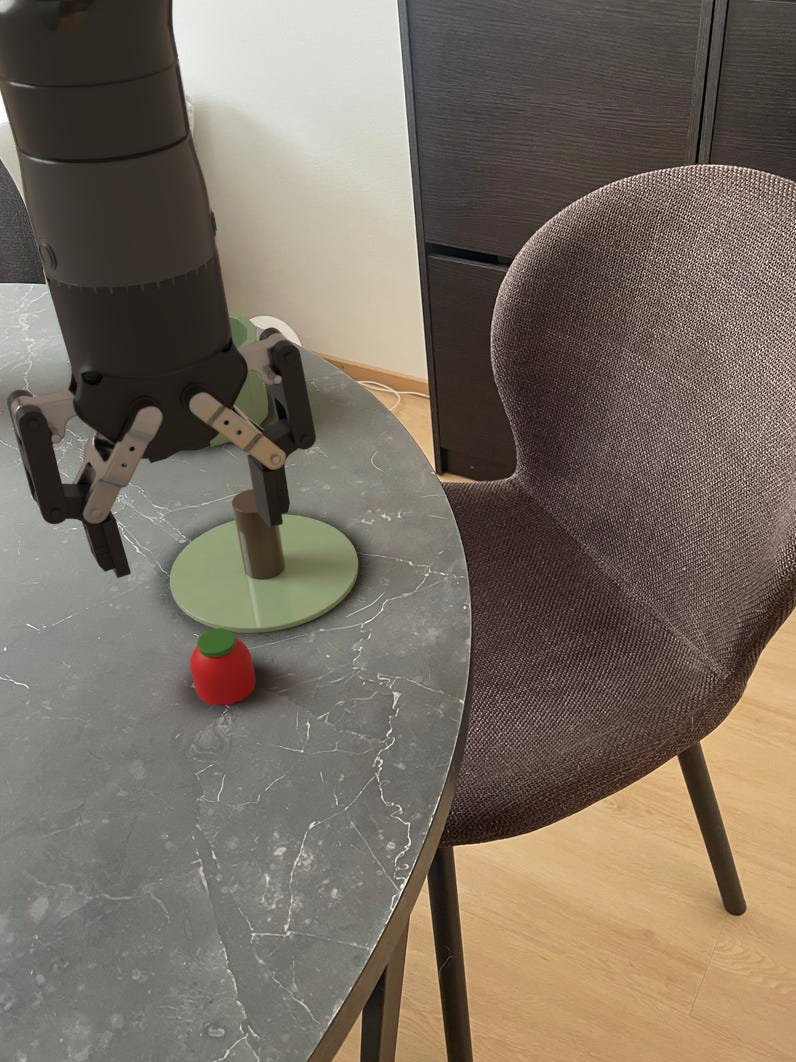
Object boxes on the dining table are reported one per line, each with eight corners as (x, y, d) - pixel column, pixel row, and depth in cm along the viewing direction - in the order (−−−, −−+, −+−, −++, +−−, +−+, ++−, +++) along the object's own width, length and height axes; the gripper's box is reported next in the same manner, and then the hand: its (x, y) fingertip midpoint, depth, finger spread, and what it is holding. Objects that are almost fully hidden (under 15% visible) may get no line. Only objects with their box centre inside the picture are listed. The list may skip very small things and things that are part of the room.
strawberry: (187, 707, 63) (174, 655, 60) (213, 668, 66) (201, 616, 63) (243, 718, 62) (231, 665, 60) (266, 677, 65) (256, 625, 62)
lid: (139, 623, 69) (116, 542, 64) (220, 515, 78) (205, 438, 74) (321, 655, 67) (310, 573, 62) (383, 540, 76) (377, 462, 71)
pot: (104, 446, 85) (81, 361, 80) (168, 380, 94) (151, 300, 89) (235, 464, 83) (220, 379, 78) (289, 396, 92) (278, 315, 87)
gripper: (249, 192, 51) (290, 474, 62) (-58, 250, 45) (46, 549, 56) (312, 241, 46) (345, 538, 57) (-22, 312, 41) (84, 626, 51)
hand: (196, 543), depth 57 cm, fingers open, 8 cm apart
